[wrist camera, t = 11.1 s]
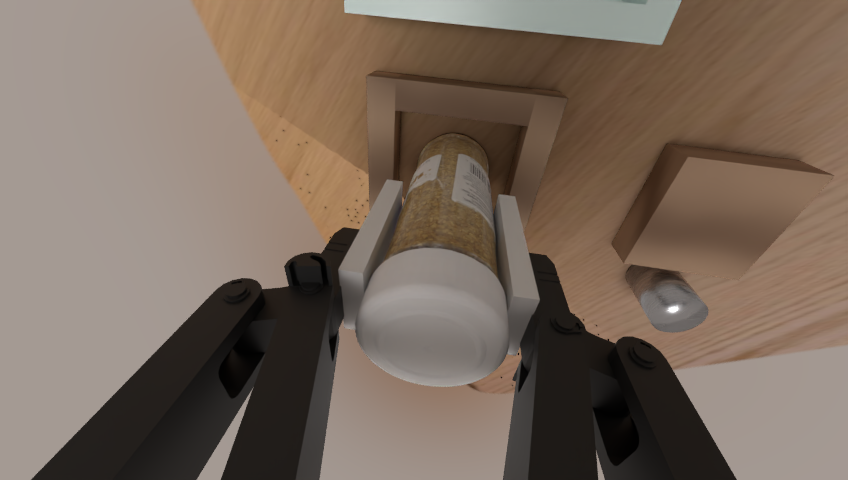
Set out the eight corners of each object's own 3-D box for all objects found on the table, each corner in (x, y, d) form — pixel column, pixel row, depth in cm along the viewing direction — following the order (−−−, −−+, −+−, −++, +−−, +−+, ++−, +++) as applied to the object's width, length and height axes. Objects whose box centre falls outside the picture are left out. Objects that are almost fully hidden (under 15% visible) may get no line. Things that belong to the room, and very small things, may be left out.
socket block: (375, 70, 17) (366, 75, 16) (559, 91, 17) (568, 98, 15) (376, 223, 23) (370, 237, 21) (513, 242, 22) (515, 258, 21)
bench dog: (637, 254, 22) (666, 295, 18) (682, 260, 21) (719, 303, 18) (618, 285, 23) (641, 328, 20) (659, 291, 23) (690, 335, 20)
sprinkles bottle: (409, 139, 19) (325, 298, 8) (485, 124, 18) (503, 284, 7) (426, 204, 22) (379, 394, 11) (493, 194, 20) (517, 393, 10)
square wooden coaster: (663, 141, 18) (688, 156, 16) (792, 157, 17) (834, 175, 15) (609, 240, 22) (623, 263, 20) (713, 255, 21) (738, 280, 19)
